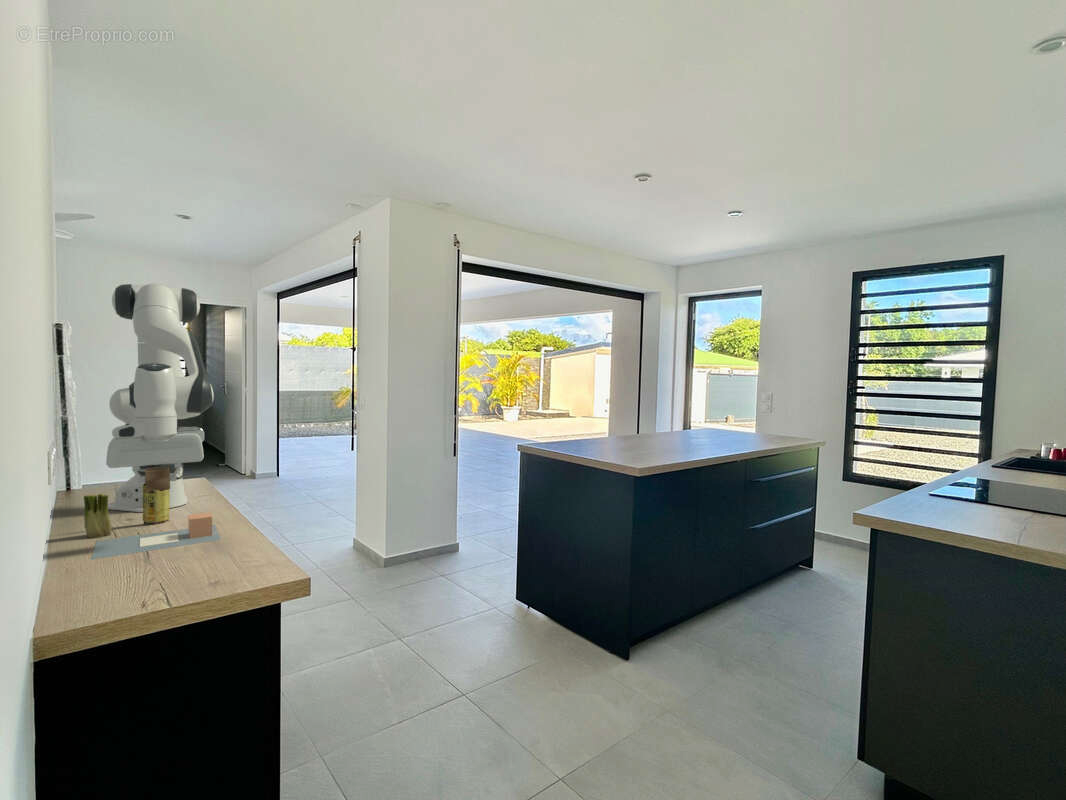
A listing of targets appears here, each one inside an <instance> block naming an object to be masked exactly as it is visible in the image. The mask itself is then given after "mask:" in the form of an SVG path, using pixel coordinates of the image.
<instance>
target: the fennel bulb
mask: <svg viewBox="0 0 1066 800" xmlns="http://www.w3.org/2000/svg"><path fill="white" fill-rule="evenodd" d="M83 500H84V501H83V503H84V514H83V515H84V519H83V520H84V528H85V533H86V536H87V538H89V539H100V538H104V537H109V536H111V534H112V523H111V517H110V515H109V514H110V513H109V509H108V504H109V495H108V494H103V493H98V494H92V495H90V494H88V495H84V496H83Z"/></svg>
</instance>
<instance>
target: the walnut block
mask: <svg viewBox="0 0 1066 800" xmlns="http://www.w3.org/2000/svg"><path fill="white" fill-rule="evenodd" d="M145 482H146V491H155V490H165V489H170V469H169V467H156V468H145Z"/></svg>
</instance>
